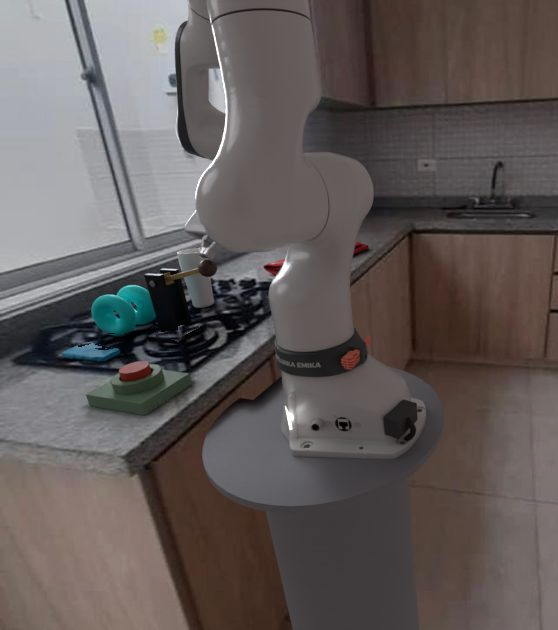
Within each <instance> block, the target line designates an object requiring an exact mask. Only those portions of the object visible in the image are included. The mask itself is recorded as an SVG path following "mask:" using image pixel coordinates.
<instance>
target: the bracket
mask: <svg viewBox="0 0 558 630" xmlns="http://www.w3.org/2000/svg"><path fill="white" fill-rule="evenodd" d="M168 272H170V274H171V275H174V274H178V273H180V269H179V268H161V269H159V273H145V274H143V276H144V280H145V283H146V287H147V290H148V291H149V294H150V297H151V301H152V304H153V308H154V311H155V315H156V317H155V319H156V320H157V325H158V328H159V330H160V332H165V331H170V330H171V331H175V330H178V326H180V325H188V324H192V322H193V321H192V317H191V312H190V308H189V305H188V300H187V297H186V292H185V288H184V285H183V282H182V278H179V279H175V280H174V283H172V284H169V285H166V281H165V277H164V274H165V273H168ZM203 323H204V324H202V325H201V326H202V327H200V326H199V327H200V328H198V329H196V330H194V331H192V332H190V333H188V334H186V335H185V340H187V339H189V338H191V337H193V336H195V335H196V334H198V333H200V332H203V331H204V330H206V329H207V328H208V327H207V324H206V323H205V322H203ZM147 341H148V342H154V343H164V344H172V345H174V344H175V345H177V344H179V343H178V342H177V341H175V340H171V339H161V338H157V337H156V335H155V332H153V333H151V334H149V335H147Z"/></svg>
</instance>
